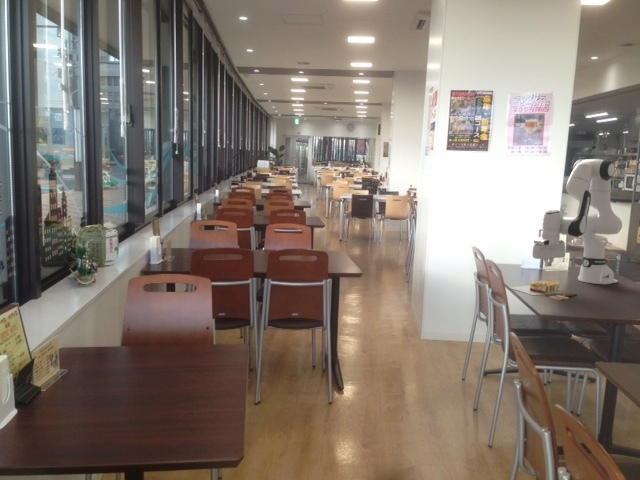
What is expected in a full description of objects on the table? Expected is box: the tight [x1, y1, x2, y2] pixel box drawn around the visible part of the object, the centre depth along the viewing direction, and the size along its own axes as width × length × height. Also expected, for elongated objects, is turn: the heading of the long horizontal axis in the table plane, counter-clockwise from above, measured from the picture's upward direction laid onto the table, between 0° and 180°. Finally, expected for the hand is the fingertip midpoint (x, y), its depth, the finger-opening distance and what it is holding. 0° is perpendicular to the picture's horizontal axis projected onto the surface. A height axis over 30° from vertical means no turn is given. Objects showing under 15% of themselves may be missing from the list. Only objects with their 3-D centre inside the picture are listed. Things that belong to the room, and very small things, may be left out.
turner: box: [548, 291, 578, 301], centre depth 299 cm, size 18×6×1 cm, turn 124°
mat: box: [508, 285, 563, 296], centre depth 312 cm, size 20×18×1 cm
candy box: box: [529, 279, 561, 295], centre depth 311 cm, size 9×4×15 cm
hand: (548, 266), depth 314 cm, fingers closed
